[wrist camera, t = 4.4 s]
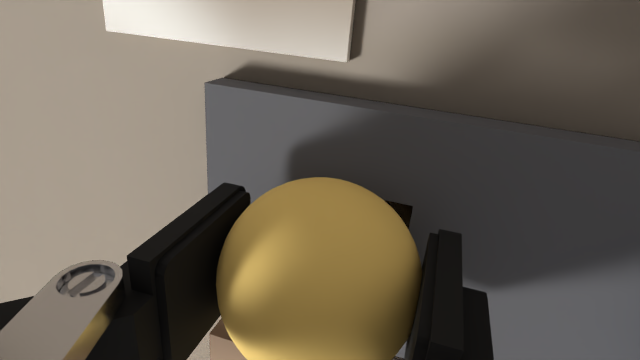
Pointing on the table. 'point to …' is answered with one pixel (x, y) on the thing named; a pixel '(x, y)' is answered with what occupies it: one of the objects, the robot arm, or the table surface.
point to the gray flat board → (466, 203)
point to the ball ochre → (318, 275)
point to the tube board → (241, 46)
